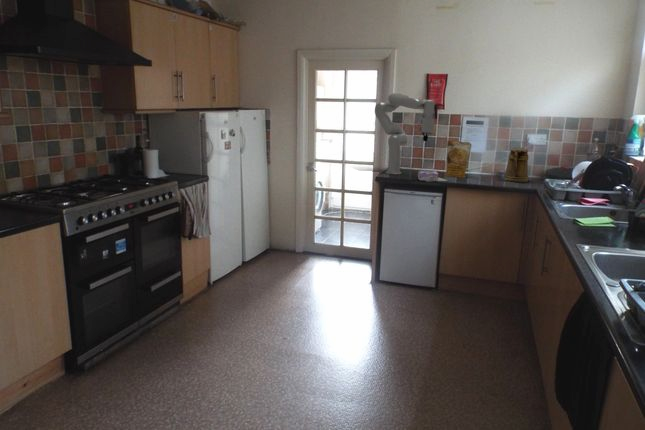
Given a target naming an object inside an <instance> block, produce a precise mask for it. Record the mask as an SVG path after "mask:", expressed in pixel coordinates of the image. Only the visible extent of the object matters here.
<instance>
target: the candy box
mask: <svg viewBox="0 0 645 430" xmlns="http://www.w3.org/2000/svg"><path fill="white" fill-rule="evenodd" d="M417 177H418V178H419V179H418V180H419V181H424V180H425V181H424V182H426V181H432V182H439V181H438V177H439V173H438V171H437V170H430V169H429V170H428V169H426V170H425V169H418V171H417Z"/></svg>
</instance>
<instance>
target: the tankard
mask: <svg viewBox="0 0 645 430" xmlns="http://www.w3.org/2000/svg"><path fill="white" fill-rule="evenodd" d="M528 152H529V150H528V149H527V148H525V147H524V148H523V147H513V148H511V149H510V152H509V155H508V162H507V165H506V170H505V174H504V175H503V181H506V182H512V183H527V182H528V181H529V178H530V177H529V174H528V171H529V169H528V164H529V163H528V161H529V154H528Z"/></svg>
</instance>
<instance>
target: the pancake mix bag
mask: <svg viewBox="0 0 645 430" xmlns="http://www.w3.org/2000/svg"><path fill="white" fill-rule="evenodd" d="M471 150H472V143H471V142H469V141H458V140H447V142H446V171H445V176H447V177H450V178H457V179H458V178H459V179H463V178H466V171H467V166H468V164H469V158H470V156H471V155H470V154H471Z"/></svg>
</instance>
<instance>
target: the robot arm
mask: <svg viewBox="0 0 645 430" xmlns="http://www.w3.org/2000/svg"><path fill="white" fill-rule="evenodd" d="M387 100H388V101H380V102H378V103H376V105H375V106H374V107H375V108H374V114H375V117H376V118H377V120H378V122H379V123H380V126H381V127H382V129H383V131H384V133H385V134H386V135H388V136H389V137H388V140H387V141H388V142H387V143H388V158H387V159H388V160H387V161H388V162H387V170H386V171H385V174H387V175H401V174H402V171H400V170H401V169H400V168H401V154H402V152H401V151H402V149H401V146H405V145H407V143H408V137H407V135H406V132H405V131H404V129H403V127H402V125H401V124H399V123H398V122H392V120H391V119H390V117H389V115H388V114H387V113H392V112H394V111H395V110H397V109H398V108H399V107H400V106H401V107H405V108H408V109H413V110H422V111H423V113H422V114H421V120H420V124H419V134H422V136H423V137H422V140H423V142H427V141H428V140H429V139H428V137H429V136H430V135H431V134H433V133H434V131H435V119H434V111H435V103H436V102H435V100H432V99H426V98H413V97H409V96H408V95H406V94H405V95H404V94H402V93H391V94H389V95H388V98H387Z"/></svg>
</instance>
